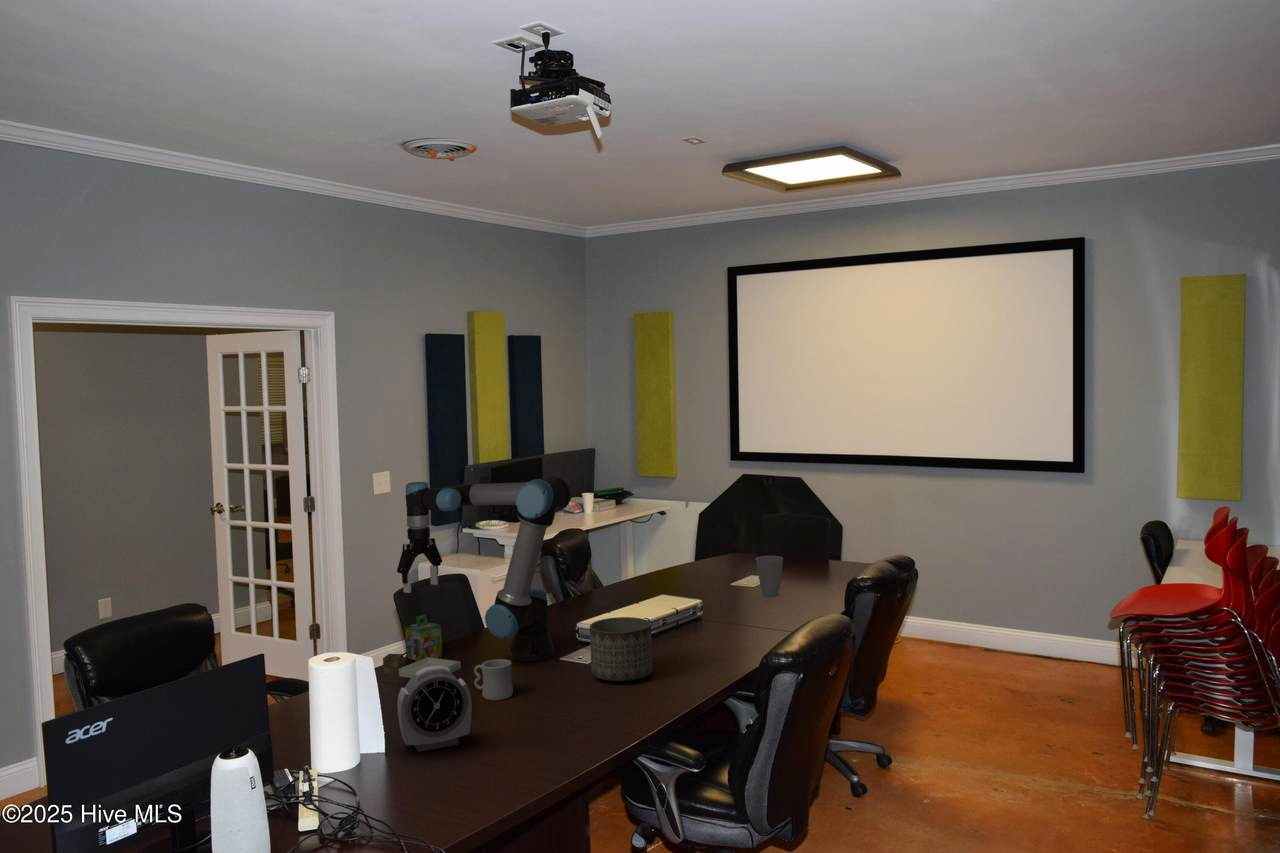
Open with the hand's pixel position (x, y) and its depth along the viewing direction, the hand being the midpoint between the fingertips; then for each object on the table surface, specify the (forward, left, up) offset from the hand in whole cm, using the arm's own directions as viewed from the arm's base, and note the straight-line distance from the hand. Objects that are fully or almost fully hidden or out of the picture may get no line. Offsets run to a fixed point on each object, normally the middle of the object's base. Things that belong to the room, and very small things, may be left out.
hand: (421, 588), depth 317 cm
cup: (-78, -131, -24) cm, 154 cm away
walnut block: (0, +15, -24) cm, 29 cm away
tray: (-13, +12, -24) cm, 30 cm away
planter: (-74, -8, -24) cm, 78 cm away
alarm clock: (-57, +60, -24) cm, 86 cm away
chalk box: (0, 0, -25) cm, 25 cm away
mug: (-47, +23, -24) cm, 58 cm away
